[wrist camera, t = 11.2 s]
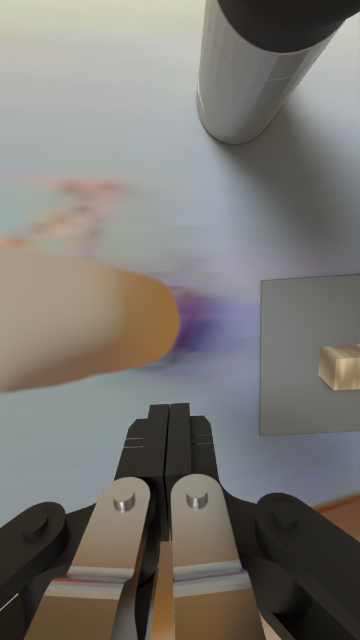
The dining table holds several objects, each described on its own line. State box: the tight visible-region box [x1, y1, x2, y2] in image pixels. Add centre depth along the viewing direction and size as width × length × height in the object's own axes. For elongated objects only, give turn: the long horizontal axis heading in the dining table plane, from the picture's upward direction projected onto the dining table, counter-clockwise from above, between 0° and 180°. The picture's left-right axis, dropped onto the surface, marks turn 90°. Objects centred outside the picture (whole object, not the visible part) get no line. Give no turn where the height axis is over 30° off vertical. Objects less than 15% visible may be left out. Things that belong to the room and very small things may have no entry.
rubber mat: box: [260, 274, 360, 436], centre depth 41 cm, size 24×22×1 cm
